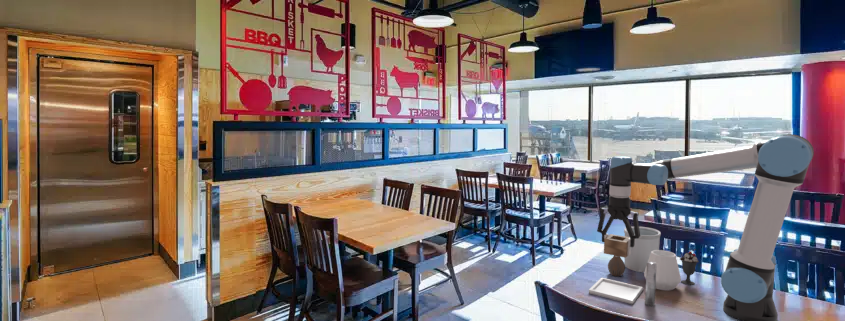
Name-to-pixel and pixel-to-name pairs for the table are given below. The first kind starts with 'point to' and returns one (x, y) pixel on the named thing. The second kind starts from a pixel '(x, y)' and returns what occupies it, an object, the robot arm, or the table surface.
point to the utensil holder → (642, 248)
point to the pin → (650, 284)
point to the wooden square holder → (616, 245)
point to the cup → (665, 269)
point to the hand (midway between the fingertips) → (617, 252)
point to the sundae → (689, 266)
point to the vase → (616, 266)
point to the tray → (616, 290)
